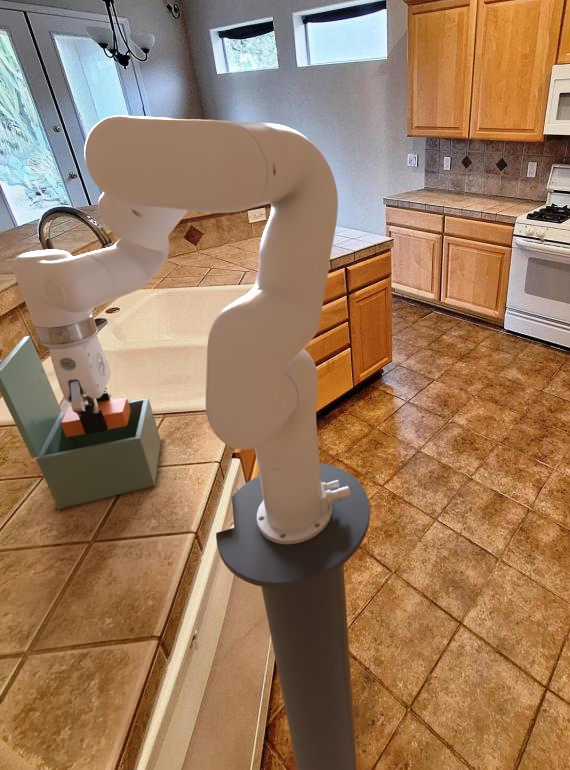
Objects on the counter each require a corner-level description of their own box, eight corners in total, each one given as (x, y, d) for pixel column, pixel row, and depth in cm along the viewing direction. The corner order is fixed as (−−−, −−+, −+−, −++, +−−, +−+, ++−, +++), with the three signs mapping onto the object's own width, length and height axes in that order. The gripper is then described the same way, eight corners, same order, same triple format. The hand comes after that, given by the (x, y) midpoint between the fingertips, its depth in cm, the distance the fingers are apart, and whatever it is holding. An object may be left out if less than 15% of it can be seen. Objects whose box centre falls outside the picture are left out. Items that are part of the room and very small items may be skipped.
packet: (131, 410, 80) (126, 397, 79) (127, 425, 76) (122, 411, 75) (73, 420, 77) (68, 407, 76) (66, 437, 73) (60, 423, 71)
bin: (161, 441, 89) (148, 397, 85) (154, 485, 78) (139, 438, 73) (78, 458, 84) (59, 413, 79) (58, 509, 73) (35, 459, 68)
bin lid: (30, 335, 73) (-5, 340, 71) (-2, 373, 61) (-45, 379, 60) (61, 410, 79) (30, 416, 78) (37, 456, 68) (0, 464, 66)
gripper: (82, 348, 63) (116, 446, 71) (105, 308, 77) (131, 393, 85) (19, 356, 60) (61, 457, 68) (54, 313, 74) (86, 401, 82)
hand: (99, 421), depth 76 cm, fingers closed on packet, 5 cm apart
